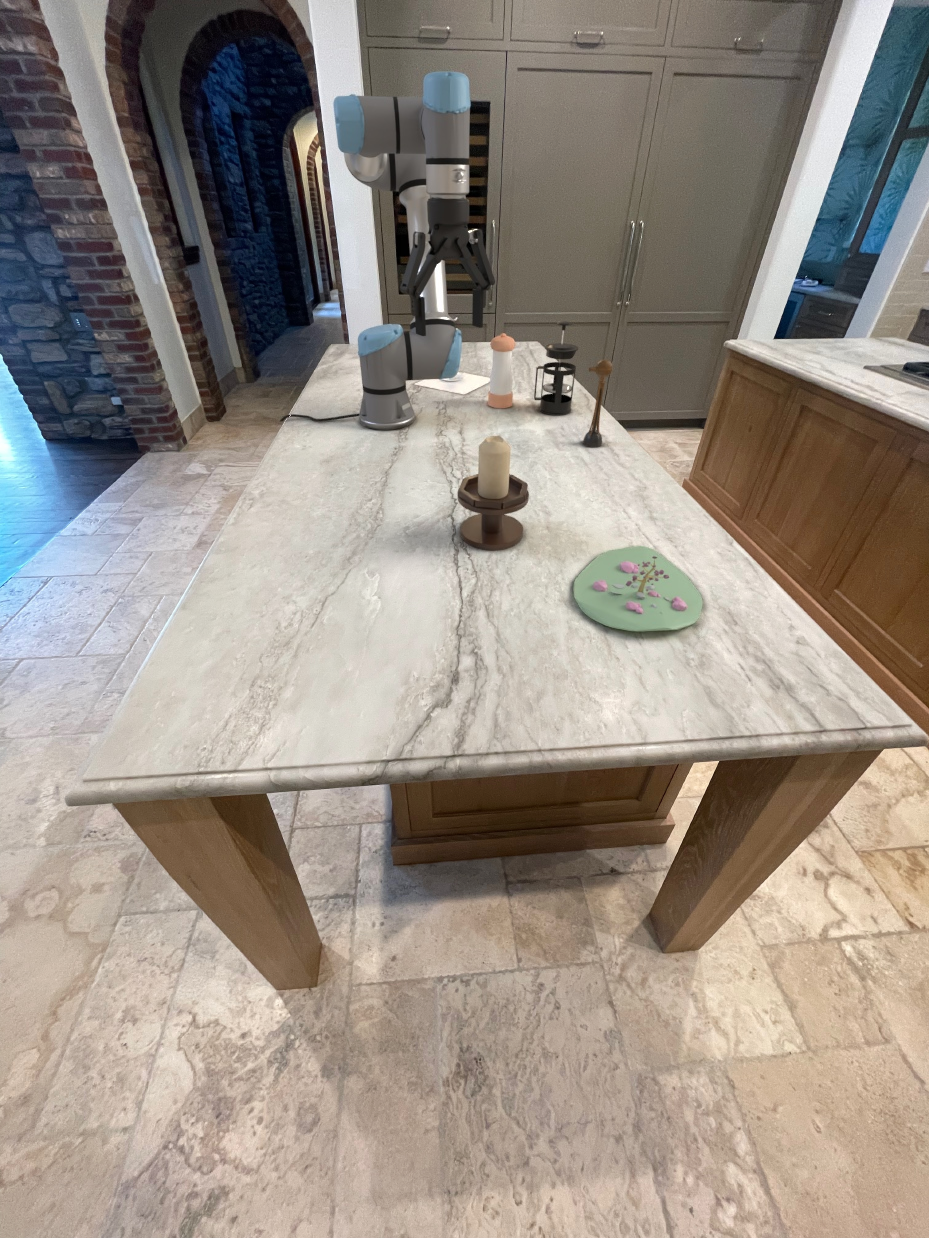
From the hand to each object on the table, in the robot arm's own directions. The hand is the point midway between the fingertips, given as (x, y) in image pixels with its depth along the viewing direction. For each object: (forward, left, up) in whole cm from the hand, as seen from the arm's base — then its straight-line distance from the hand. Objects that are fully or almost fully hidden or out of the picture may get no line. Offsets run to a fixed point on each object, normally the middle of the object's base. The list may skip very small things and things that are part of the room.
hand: (449, 330), depth 108 cm
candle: (+14, -29, -20) cm, 38 cm away
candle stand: (+14, -29, -29) cm, 43 cm away
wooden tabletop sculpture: (+32, +20, -29) cm, 48 cm away
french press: (+21, +44, -29) cm, 57 cm away
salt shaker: (+5, +46, -29) cm, 55 cm away
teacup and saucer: (-13, +66, -29) cm, 73 cm away
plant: (+40, -42, -29) cm, 65 cm away
